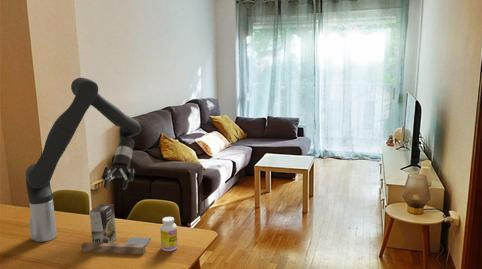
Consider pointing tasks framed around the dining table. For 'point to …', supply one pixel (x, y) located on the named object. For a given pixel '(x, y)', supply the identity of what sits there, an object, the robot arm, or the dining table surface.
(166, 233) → the supplement bottle
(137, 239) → the end mat
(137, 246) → the walnut fence
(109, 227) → the coffee box
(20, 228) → the dining table surface
